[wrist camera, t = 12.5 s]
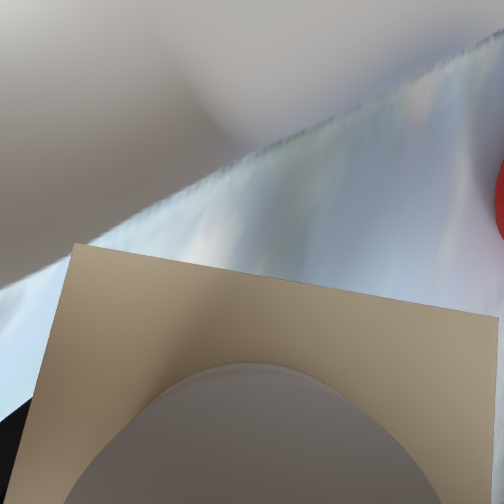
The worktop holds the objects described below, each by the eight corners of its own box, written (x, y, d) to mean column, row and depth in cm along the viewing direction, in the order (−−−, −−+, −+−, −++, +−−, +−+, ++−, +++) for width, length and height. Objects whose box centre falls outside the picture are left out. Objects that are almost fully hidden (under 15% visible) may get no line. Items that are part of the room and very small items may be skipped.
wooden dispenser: (304, 470, 15) (607, 1187, 3) (154, 444, 15) (-248, 1035, 3) (324, 318, 16) (598, 318, 4) (185, 293, 16) (10, 214, 4)
